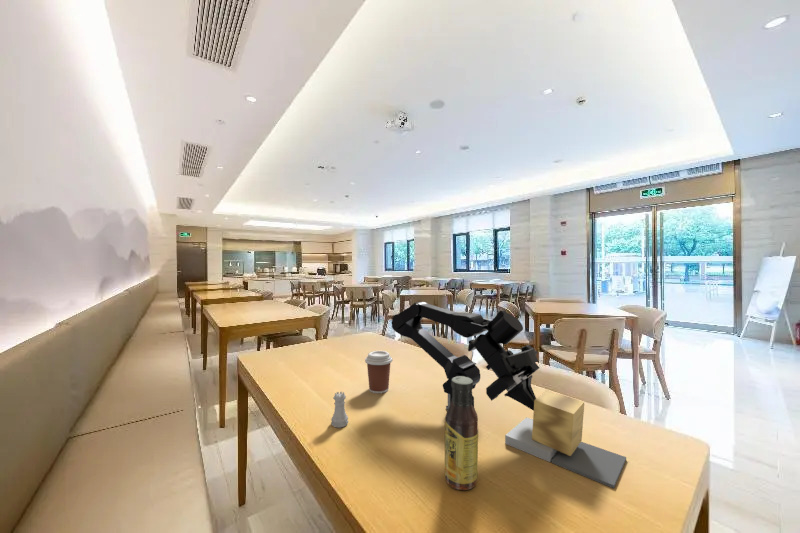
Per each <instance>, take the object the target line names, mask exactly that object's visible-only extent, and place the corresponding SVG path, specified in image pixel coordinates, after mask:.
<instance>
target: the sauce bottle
mask: <svg viewBox="0 0 800 533" xmlns="http://www.w3.org/2000/svg"><path fill="white" fill-rule="evenodd" d="M451 386H452V401H451V404H450V406H449V409H448V411H447V412H446V415H445V418H444V419H445V420H444V475H445V476H444V477H445V481H446V483H447V485H449V486H450V487H451V488H453V489H454V490H459V491H470V490H471V489H473V488H474V487H476V485H477V478H478V464H479V463H478V462H479V461H478V458H479V457H478V456H479V455H478V454H479V453H478V452H479V426H478V422H479V421H478V420H479V416H478V413H477V411H476V408H475V406H474V407H473V405H472V395H473V390H474V389H473V380H472V379H471V378H468V377H464V376H457V377H454V378H452V381H451Z"/></svg>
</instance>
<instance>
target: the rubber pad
mask: <svg viewBox="0 0 800 533" xmlns="http://www.w3.org/2000/svg"><path fill="white" fill-rule="evenodd" d="M626 462H627V457H626V456H624V455H621V454H618V453H615V452H612V451H610V450H606V449H604V448H600V447H599V446H596V445H592V444H590V443H587V442H584V441H581V442H580V444H579V445H578V447H577V448H576V449H575V451H574V452H573V454H572V455H571V456H569V455H567V454H564V453H562V452H560V451H559V452H558V453H557V454H556V456H555V457H554V458H553V459H552V461H551V464H553V465H555V466H558V467H561V468H563V469H566V470H568V471H570V472H573V473H575V474H577V475H580V476H583V477H585V478H588V479H590V480H593V481H595V482H597V483H600V484H602V485H604V486H606V487H610V488H611V489H615V487H616V485H617V483H618V481H619V478H620V475H621V474H622V471H623V468H624V466H625V463H626Z"/></svg>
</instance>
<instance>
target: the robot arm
mask: <svg viewBox="0 0 800 533" xmlns="http://www.w3.org/2000/svg"><path fill="white" fill-rule="evenodd" d="M423 318H425V319H427V320H430V321H433V322H435V323H439V324H442V325H444V326H447V327H449V328H450V329H452V331H453V332H454V333H456V334H458V335H459V336H461V337H463V338H466V339H467V338H473V337H475V336H476V338H475V339H469V340H468V347H467V351H468V352H472V351H474V350H476V351H477V352H478V353H479V355H480V356H481V358H482V359H483V360H484V361H485V363H486V364H487V365H486V366H485V368H486V369H487V371H489V370H492V372H493V373H494V374H495V375H496V377H497V378H496V379H495V380H494V381H493V382H492V383H491V384H489V385H488V386H487V387H486V388H485V391H486V392H485V393H486V395H487V397H488V398H489V399H490V401H491V402H492V401H493V400H495V399H497V398H498V397H499V396H500V395H501V394H502V393H504V391H506V393H505V394H504V397H508V398H510V399H512V400H514V401H517V402H518V403H520V404H521V405H523V406H524V407H527V408H528V409H529V410H532V411H533V412H534V400H535V399H537V396H536V394H535V393H534V390H533V387H532V379H533V375H532V374H534V373H535V372H537V371H538V370H539V369H540V366H539V365H538V364H537V363H538V362H539V359H538V357H537V355H538V350H535V347H532V346H531V345H530V344H528V345H527V344H526V345H525V346H522V347H521V351H519V352H516V353H514V352H513V351H512V350H506V349H505V348H504V347H503V346H502V345H508V344H509V343H510V342H511V341H512V340H513V339H514V338H516V337H517V336H518V335H519V334H520V333H521V332H522V331H523V330H524V326H523V324H522V323H521V321H520V320H519V318H517V317H515V316H513V314H510V313H508V312H507V311H506V310H505V309H502V310H499V311H498V312H497V314H496V315H495V317H493V318H492V319H491V320H490V319H486V318H484V317H483V316H482V315H481V314H480V313H475V312H474V313H472V312H457V311H452V310H450V309H446V308H442V307H441V306H440V307H439V306H437V305H433V304H430V303H428V302H425V301H418V302H417V301H416V302H414V303H413V304H411V305H410V306H409V307H408V308H406V309H404V310H402V311H401V312H399V313H397V314H394V315H393V316H392V318H391V328H392V329H393V331H394V332H395V333H397V334H399V335H401V336H402V337H405V338H408V339H411V340H412V341H413V342H414V343H415V344H417V345H418V346H419V348H421V349H422V350H423V351H424V353H426V354H428V355H429V356H430V357H431V358H432V359H433V360H434V361H435V362H436V363H437V364H438V365H439V366H441V367H442V369H443V371H444V373H445V376H446V379H447V380H446V381H445V382H444V383H443V384H442V388H443V392H444V393H445V394H447V405H445V409H446V410H447V412H448V409H449V406H450V404H451V401H452V386H451V381H452V378H454V377H457V376H464V377H468V378H471V379H472V380H473V389H472V390H474V389H475V388H476V385H477V384H479V383H480V380H481V370H480V369H479V367H478V366H477V363H476V362H474V361H472V360H471V358H470V357H469V356H467V355H466V354H463V355H460V356H456V355H455V354H453V352H451V351H450V350H449V349H448V348H446V347H445V346H444V345H443V344H442V343H441V342H439V341H438V340H437V339H436V338H435V337H433V335H431V334H430V333H429V332H428V331H427V330H426V329H425V328H424V327H423V325H422V323H421V321H422V320H423ZM484 332H486V333H485V334H484ZM477 335H478V336H477ZM472 405H473V407H474V408H475V397H474V395H473V394H472Z"/></svg>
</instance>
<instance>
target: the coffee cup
mask: <svg viewBox="0 0 800 533" xmlns="http://www.w3.org/2000/svg"><path fill="white" fill-rule="evenodd" d="M364 362H365V363H366V366H367V377H368V378H367V380H368V389H369V392H371V393H373V394H384V393H387V392H388V391H389V386H390V373H391V363H392V362H393V358H392V356H390V353H389V352H388V351H386V350H374V351H370V352H369V353H368V354H367V356H366V357H365V358H364Z"/></svg>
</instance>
